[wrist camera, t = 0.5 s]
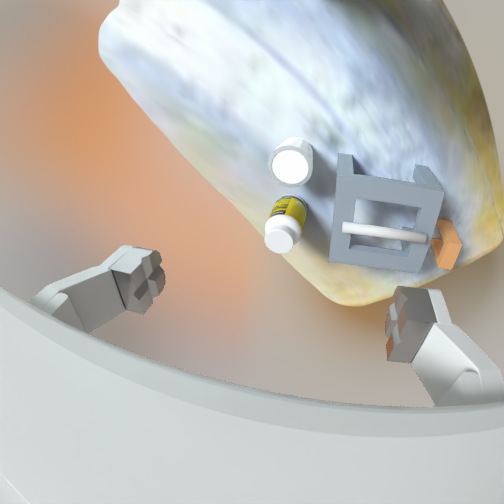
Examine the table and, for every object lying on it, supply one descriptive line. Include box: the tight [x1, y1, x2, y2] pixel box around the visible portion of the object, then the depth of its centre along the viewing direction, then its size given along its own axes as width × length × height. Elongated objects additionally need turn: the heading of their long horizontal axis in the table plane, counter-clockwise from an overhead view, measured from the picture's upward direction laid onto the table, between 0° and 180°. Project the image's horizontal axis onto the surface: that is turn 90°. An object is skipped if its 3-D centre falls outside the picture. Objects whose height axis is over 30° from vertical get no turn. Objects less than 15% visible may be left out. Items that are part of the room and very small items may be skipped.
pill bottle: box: [265, 194, 307, 254], centre depth 49 cm, size 6×6×11 cm
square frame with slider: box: [328, 154, 445, 273], centre depth 42 cm, size 15×16×12 cm
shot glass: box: [267, 137, 313, 187], centre depth 43 cm, size 7×7×7 cm
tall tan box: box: [431, 219, 462, 270], centre depth 43 cm, size 6×3×8 cm, turn 4°
